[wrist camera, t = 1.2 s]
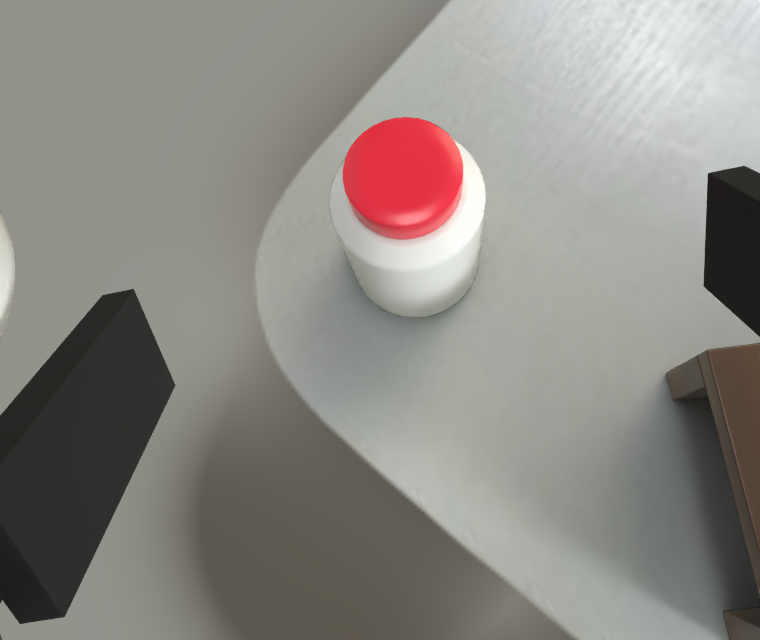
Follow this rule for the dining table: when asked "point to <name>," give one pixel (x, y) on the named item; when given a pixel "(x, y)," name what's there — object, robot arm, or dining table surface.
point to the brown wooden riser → (733, 444)
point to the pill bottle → (410, 216)
